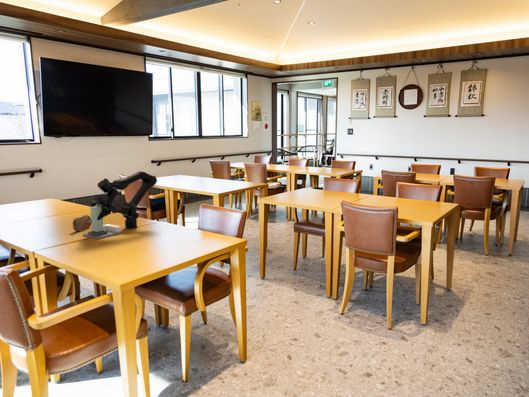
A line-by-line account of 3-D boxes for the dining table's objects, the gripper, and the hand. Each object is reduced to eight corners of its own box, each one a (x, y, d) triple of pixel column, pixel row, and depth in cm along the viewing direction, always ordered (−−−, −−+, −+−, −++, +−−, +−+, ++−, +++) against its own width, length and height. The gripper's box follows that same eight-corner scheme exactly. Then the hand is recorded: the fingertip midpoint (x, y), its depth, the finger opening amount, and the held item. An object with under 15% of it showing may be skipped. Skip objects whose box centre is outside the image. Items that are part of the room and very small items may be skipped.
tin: (76, 232, 239) (75, 219, 237) (72, 232, 239) (71, 218, 238) (92, 227, 253) (91, 214, 252) (87, 226, 254) (87, 213, 252)
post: (98, 229, 235) (97, 206, 233) (103, 230, 233) (102, 206, 230) (91, 230, 231) (90, 207, 229) (96, 232, 229) (95, 208, 227)
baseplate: (108, 229, 247) (108, 223, 246) (124, 232, 240) (123, 226, 239) (82, 235, 232) (82, 229, 231) (98, 239, 225) (97, 232, 224)
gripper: (91, 188, 236) (75, 209, 229) (111, 190, 227) (96, 213, 219) (103, 199, 244) (88, 220, 237) (123, 202, 235) (109, 224, 227)
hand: (95, 219), depth 230 cm, fingers closed on post, 4 cm apart
